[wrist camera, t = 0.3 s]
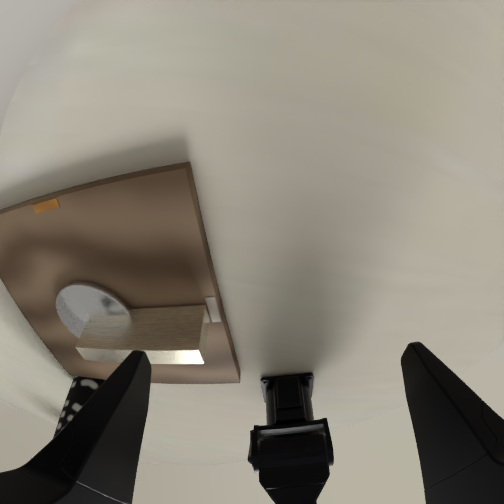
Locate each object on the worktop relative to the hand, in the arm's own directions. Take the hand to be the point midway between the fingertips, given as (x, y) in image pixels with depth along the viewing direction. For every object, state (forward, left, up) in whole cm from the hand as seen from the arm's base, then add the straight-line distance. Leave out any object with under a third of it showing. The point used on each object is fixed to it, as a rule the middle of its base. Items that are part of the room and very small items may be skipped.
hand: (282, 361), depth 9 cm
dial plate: (-10, +17, -14) cm, 24 cm away
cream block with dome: (-10, +14, -12) cm, 21 cm away
